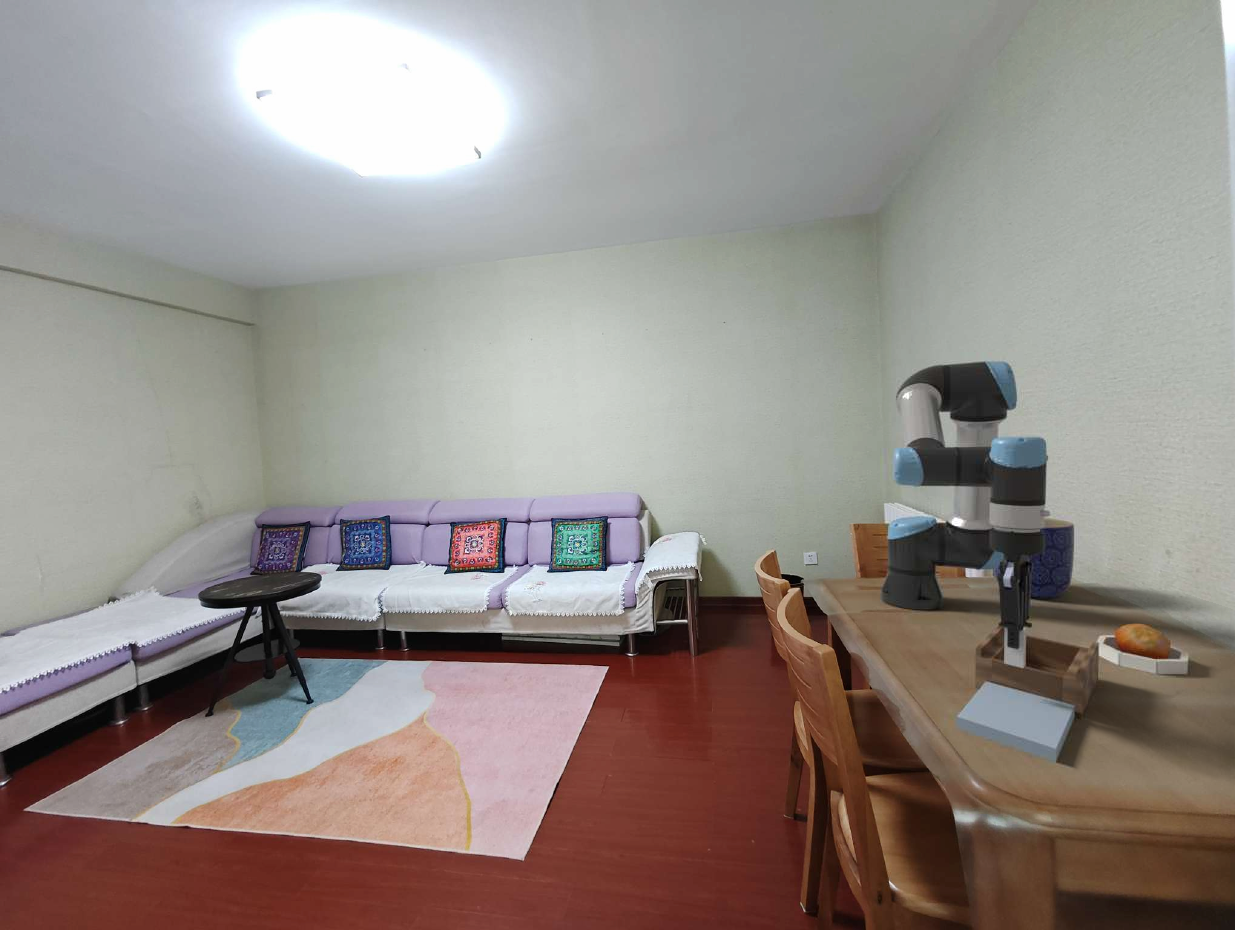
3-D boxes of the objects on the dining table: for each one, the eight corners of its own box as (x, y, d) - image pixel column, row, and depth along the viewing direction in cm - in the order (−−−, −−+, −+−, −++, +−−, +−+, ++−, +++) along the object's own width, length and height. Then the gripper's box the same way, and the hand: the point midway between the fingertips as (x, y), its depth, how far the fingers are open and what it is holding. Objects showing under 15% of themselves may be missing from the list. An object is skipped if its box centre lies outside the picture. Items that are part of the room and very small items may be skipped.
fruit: (1148, 643, 112) (1161, 618, 108) (1168, 676, 106) (1183, 651, 101) (1100, 639, 115) (1112, 615, 110) (1117, 672, 108) (1130, 647, 104)
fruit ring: (1093, 659, 108) (1093, 647, 108) (1102, 641, 117) (1102, 630, 117) (1186, 680, 99) (1186, 667, 98) (1188, 659, 107) (1189, 647, 107)
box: (1001, 658, 110) (1001, 622, 110) (1097, 681, 99) (1098, 642, 99) (975, 687, 98) (975, 647, 98) (1081, 718, 87) (1082, 673, 87)
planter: (1091, 602, 142) (1093, 526, 141) (1022, 604, 143) (1023, 528, 141) (1037, 582, 161) (1039, 515, 159) (976, 584, 161) (977, 517, 160)
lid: (985, 694, 97) (985, 681, 97) (1074, 720, 88) (1074, 705, 88) (956, 731, 86) (956, 716, 85) (1055, 765, 76) (1055, 748, 76)
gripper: (1036, 536, 83) (1033, 684, 84) (1053, 525, 91) (1050, 659, 93) (979, 531, 88) (977, 669, 90) (1000, 520, 97) (998, 647, 98)
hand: (1014, 664), depth 91 cm, fingers closed
